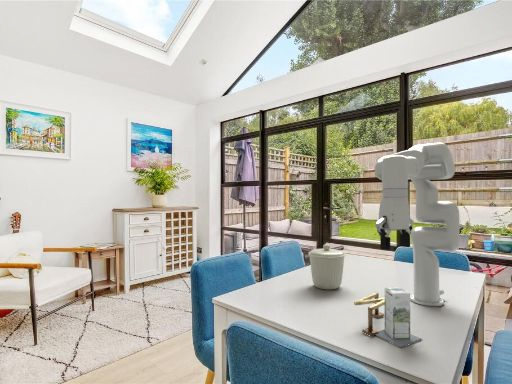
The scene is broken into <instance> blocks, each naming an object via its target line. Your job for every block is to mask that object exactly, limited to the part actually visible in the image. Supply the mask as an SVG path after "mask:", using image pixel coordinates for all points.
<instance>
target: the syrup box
mask: <svg viewBox="0 0 512 384" xmlns="http://www.w3.org/2000/svg"><path fill="white" fill-rule="evenodd" d="M410 296H411V293H410V292H409V291H408V290H406V289H405V288H402V287H384V298H385V305H384V329H385V332H386V333H387V334H388V335H389V336H390V337H391V338H393V339H410V334H411V300H410Z"/></svg>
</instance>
